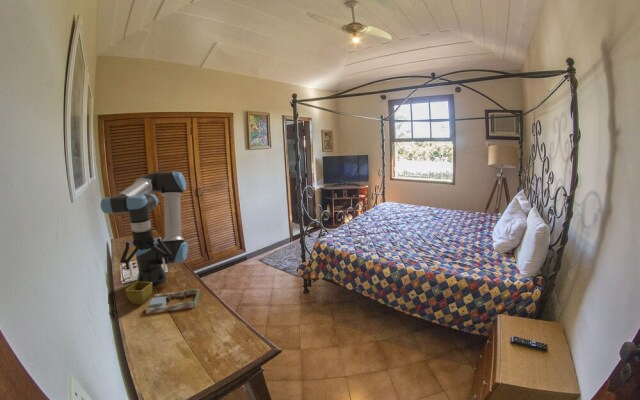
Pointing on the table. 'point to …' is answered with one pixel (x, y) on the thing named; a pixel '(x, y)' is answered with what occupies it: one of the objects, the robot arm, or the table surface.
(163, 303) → the slate block
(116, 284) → the table surface
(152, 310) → the wooden wall shelf
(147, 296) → the flower pot
